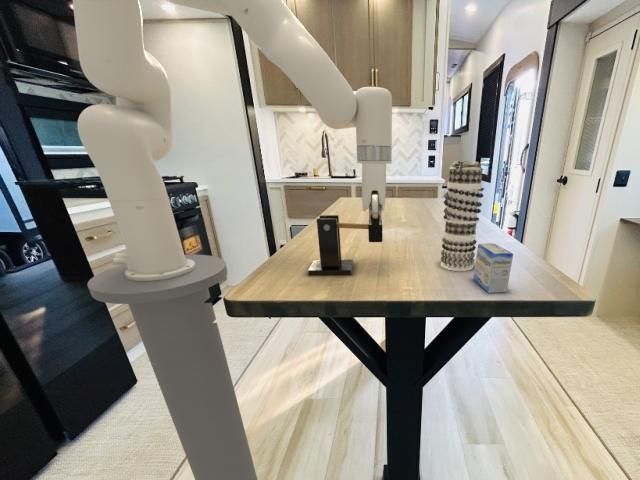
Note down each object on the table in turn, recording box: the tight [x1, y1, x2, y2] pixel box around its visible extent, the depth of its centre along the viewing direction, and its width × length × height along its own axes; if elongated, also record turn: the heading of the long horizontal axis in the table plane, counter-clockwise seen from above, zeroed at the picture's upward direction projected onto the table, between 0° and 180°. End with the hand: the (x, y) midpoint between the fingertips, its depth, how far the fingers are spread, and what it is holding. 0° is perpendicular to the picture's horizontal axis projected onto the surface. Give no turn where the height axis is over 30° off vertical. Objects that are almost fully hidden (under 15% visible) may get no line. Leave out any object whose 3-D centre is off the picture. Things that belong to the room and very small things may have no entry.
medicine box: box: [472, 242, 514, 294], centre depth 69 cm, size 8×4×9 cm, turn 12°
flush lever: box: [337, 222, 369, 230], centre depth 75 cm, size 13×5×2 cm, turn 94°
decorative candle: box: [440, 160, 485, 272], centre depth 78 cm, size 9×9×25 cm
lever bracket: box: [307, 214, 354, 276], centre depth 77 cm, size 10×8×13 cm
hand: (375, 238), depth 77 cm, fingers closed on flush lever, 5 cm apart
